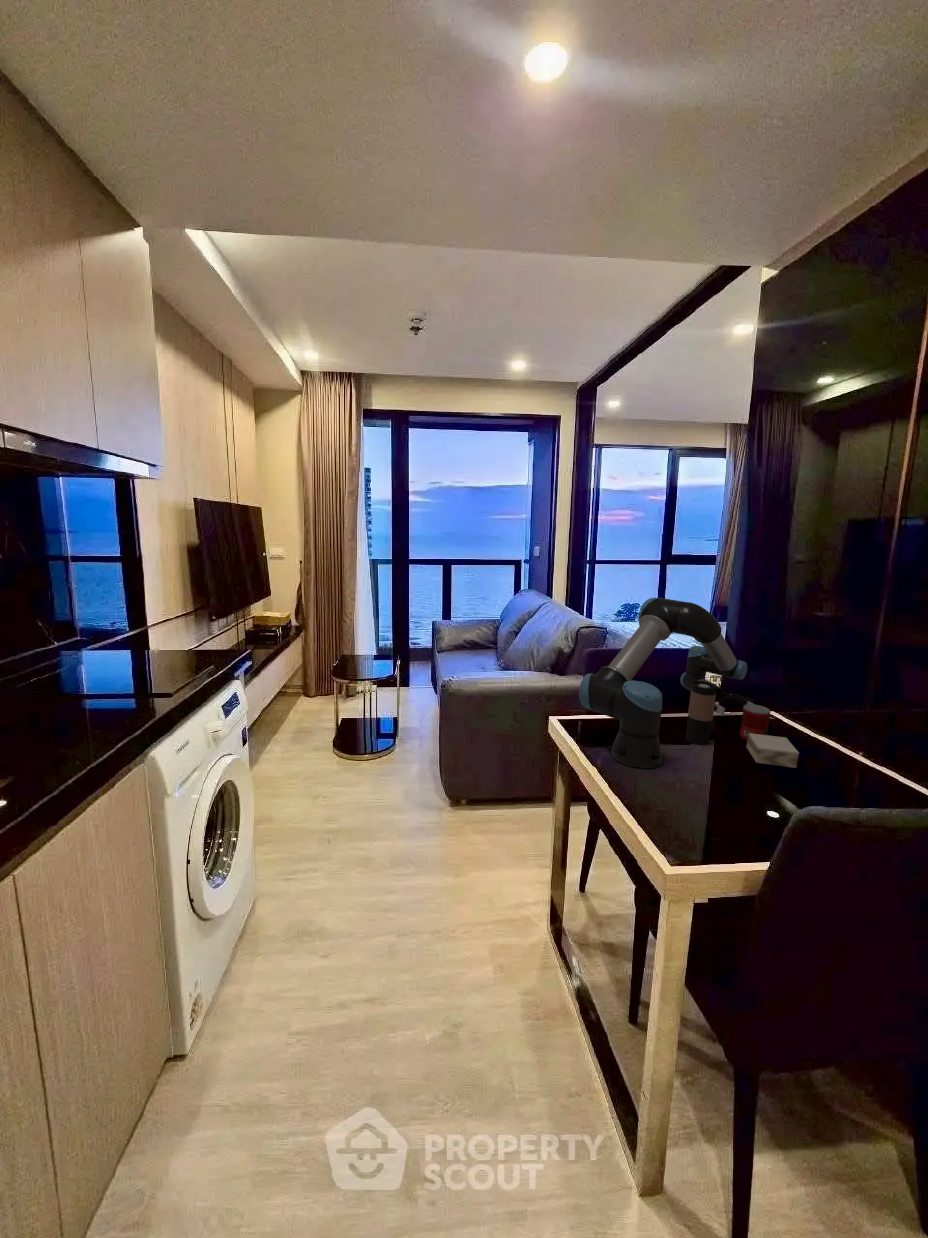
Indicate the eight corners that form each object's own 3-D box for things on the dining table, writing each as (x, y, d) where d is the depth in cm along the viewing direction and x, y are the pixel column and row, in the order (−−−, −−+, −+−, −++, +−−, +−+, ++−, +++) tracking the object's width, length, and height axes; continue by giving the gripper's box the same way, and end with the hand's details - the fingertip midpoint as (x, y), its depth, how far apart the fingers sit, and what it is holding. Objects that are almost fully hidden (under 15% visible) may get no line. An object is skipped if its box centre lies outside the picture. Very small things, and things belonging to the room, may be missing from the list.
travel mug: (685, 743, 168) (692, 686, 164) (684, 734, 175) (691, 679, 171) (710, 747, 165) (718, 689, 161) (708, 738, 172) (716, 682, 168)
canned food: (769, 744, 168) (774, 713, 166) (743, 741, 170) (748, 711, 168) (760, 734, 176) (765, 705, 173) (736, 732, 177) (740, 703, 175)
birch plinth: (756, 762, 155) (758, 747, 154) (746, 747, 166) (748, 733, 165) (796, 767, 152) (799, 752, 151) (783, 751, 163) (786, 737, 162)
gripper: (735, 699, 202) (772, 721, 181) (676, 700, 199) (707, 722, 179) (738, 682, 200) (775, 701, 180) (679, 682, 198) (709, 702, 177)
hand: (741, 712), depth 179 cm, fingers open, 13 cm apart
